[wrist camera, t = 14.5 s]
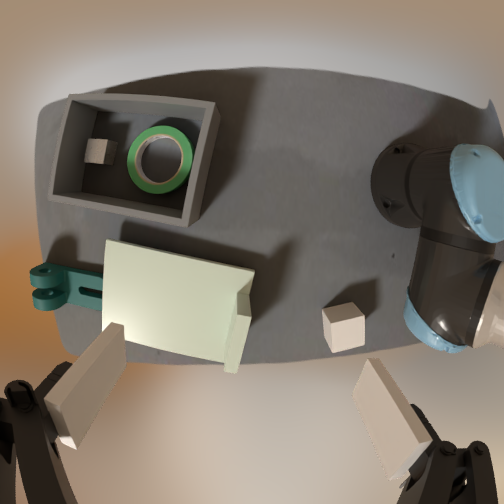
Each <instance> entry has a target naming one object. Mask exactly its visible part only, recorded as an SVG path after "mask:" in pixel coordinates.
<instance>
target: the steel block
mask: <svg viewBox="0 0 504 504" xmlns="http://www.w3.org/2000/svg"><path fill="white" fill-rule="evenodd" d="M117 144H118V142H114V141H111V140H106V139H88V143H87V148H86V153H85V159H84V162H88V163H98V164H108V165H114V159H115V154H116V149H117Z"/></svg>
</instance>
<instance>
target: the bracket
mask: <svg viewBox="0 0 504 504" xmlns="http://www.w3.org/2000/svg"><path fill="white" fill-rule="evenodd" d="M30 281H31V285H32V286H34V287H36V288H37V289H36V290H34V291H33V293H32V296H33V303H34V307H35V308H36V309H38V310H42V311H51V310H55V309H58V308H60V307H61V306H63V305H64V304H65V303H70V304H74V305H78V306H82V307H86V308H90V309H94V310H99V311H102V297H103V294H99V293H94V292H89V291H86V290H85V289H84V287H87V288H92V289H96V290H101V291H103V274H102V273H97V272H91V271H86V270H81V269H76V268H71V267H66V266H61V265H56V264H52V263H47V262H45V263H43V264H41V265H38V266H36V267H34V268H32V269H31V270H30Z"/></svg>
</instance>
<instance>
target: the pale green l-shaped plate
mask: <svg viewBox="0 0 504 504" xmlns="http://www.w3.org/2000/svg"><path fill="white" fill-rule="evenodd" d="M254 273H255V271H254V270H253V269H248V268H243V267H238V266H233V265H229V264H224V263H219V262H215V261H210V260H205V259H200V258H196V257H191V256H187V255H182V254H177V253H173V252H168V251H164V250H159V249H155V248H150V247H146V246H141V245H137V244H132V243H128V242H124V241H119V240H115V239H111V238H109V239H106V248H105V259H104V274H103V297H102V331H103V330H104V329H105V328H106V327H107V326H108V325H109V324H110V323H111V322H114V323H117V324H121V325H124V335H125V340H128V341H132V342H135V343H139V344H143V345H146V346H150V347H154V348H158V349H162V350H166V351H170V352H175V353H179V354H183V355H188V356H193V357H197V358H202V359H207V360H213V361H218V362H223V363H224V372H229V373H235V374H236V373H237V371H238V367H239V363H240V360H241V356H242V352H243V348H244V345H245V341H246V337H247V333H248V329H249V326H250V322H251V318H252V316H251V307H250V299H249V293H250V289H251V285H252V281H253V277H254Z"/></svg>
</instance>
